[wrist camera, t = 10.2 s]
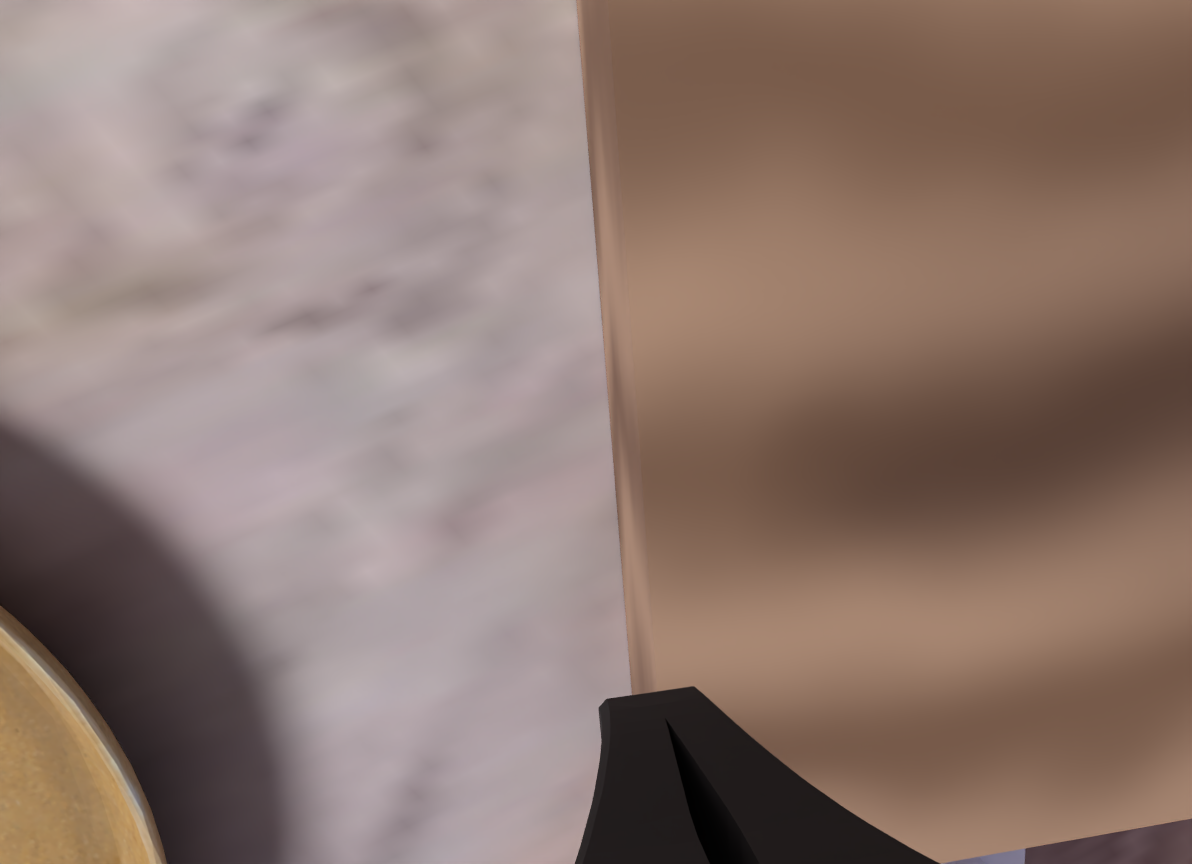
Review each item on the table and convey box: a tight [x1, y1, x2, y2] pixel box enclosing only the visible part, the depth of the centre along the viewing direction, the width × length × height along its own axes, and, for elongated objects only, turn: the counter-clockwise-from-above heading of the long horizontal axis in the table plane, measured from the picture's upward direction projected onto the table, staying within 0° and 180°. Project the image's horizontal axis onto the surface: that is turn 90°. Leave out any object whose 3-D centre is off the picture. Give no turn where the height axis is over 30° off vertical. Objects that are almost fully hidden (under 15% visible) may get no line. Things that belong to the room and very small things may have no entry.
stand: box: [576, 0, 1192, 864], centre depth 19 cm, size 20×14×4 cm
